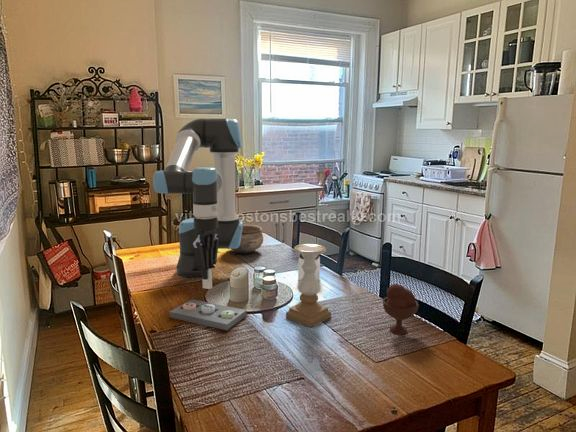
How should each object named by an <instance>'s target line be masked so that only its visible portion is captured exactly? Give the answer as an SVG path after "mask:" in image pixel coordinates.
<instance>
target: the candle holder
mask: <svg viewBox="0 0 576 432" xmlns="http://www.w3.org/2000/svg"><path fill="white" fill-rule="evenodd" d="M326 249H327V248H326V247H325V246H324V245H320V244H315V243H303V244H301V243H300V244H297V245H295V246H294V247H293V250H294V252H295V253H296V254H302V256H303V258H304V263H303V265H302V269H303V271H304V276H303V278H302V279H301V280H299V283H298V285H297V290H298V292H299V293H301V294H300V295H299V302H298V303H296V304H295V305H293V306H291V307H289V309H288V311H286V312H285V318H286V319H289V320H291V321H294V322H295V323H298V324H301V325H303V326H306V327H308V328H312V327H314V326H316V325H319V324H321V323H323V322H325V321H327V320H329V319H330V318H332V312H331V311H329V308H328V307H327V306H324V305H322V304H320V303H319V302H318V300H319V296H318V293H319V292H320V290H321V285H320V282H319V279H318V280H317V279H316V277H315V274H314V273H315V271H316V269H317V265H316V263H315V259H316V257H317V256H318V254H319V255H322V254H324V253H325V252H326V251H327V250H326Z"/></svg>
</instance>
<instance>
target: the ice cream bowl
mask: <svg viewBox="0 0 576 432" xmlns="http://www.w3.org/2000/svg"><path fill="white" fill-rule="evenodd" d="M386 295H387V296H385V297H383V298H382V305H383V311H384V312H385V313H386V314H387V315H388V316H390V317H391V318H392V319H395V321H396V322H395V323H396V324H395V325H392V326H390V327H389V332H390V333H392V334H394V335H398V336H402V335H403V336H405V335H407V333H408V329H407V328H406V327H405V326H404V325H402V324H403V320H407V319H409V318H411V317H413V316H414V315H415V314H416V313H417V312H418V310H419V306H420V305H419V302H418V300H416V297H415V295H414V293H413V292H412V290H410V289H408V288H406V287H404V286H403V285H402V284H399V283H393V284H391V285H389V287H388V288H386Z"/></svg>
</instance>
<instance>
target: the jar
mask: <svg viewBox="0 0 576 432" xmlns="http://www.w3.org/2000/svg"><path fill="white" fill-rule="evenodd" d="M298 254H299V253H298ZM303 263H304V258H303V256H302V254H299V256H298V268H297V269H298V270H297V271H298V272H297V274H298V275H297V278H298V281H301V279H302V278H303V276H304V271H303V269H302V265H303ZM315 263H316V265H317V269H316V271H315V273H314V274H315V277H316V279H317V280H318V281H319V280H320V274H321V273H320V272H321V271H320V269H321V268H320V267H321V265H320V263H321V257H320V254H318V256H317V257H316V259H315Z"/></svg>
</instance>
